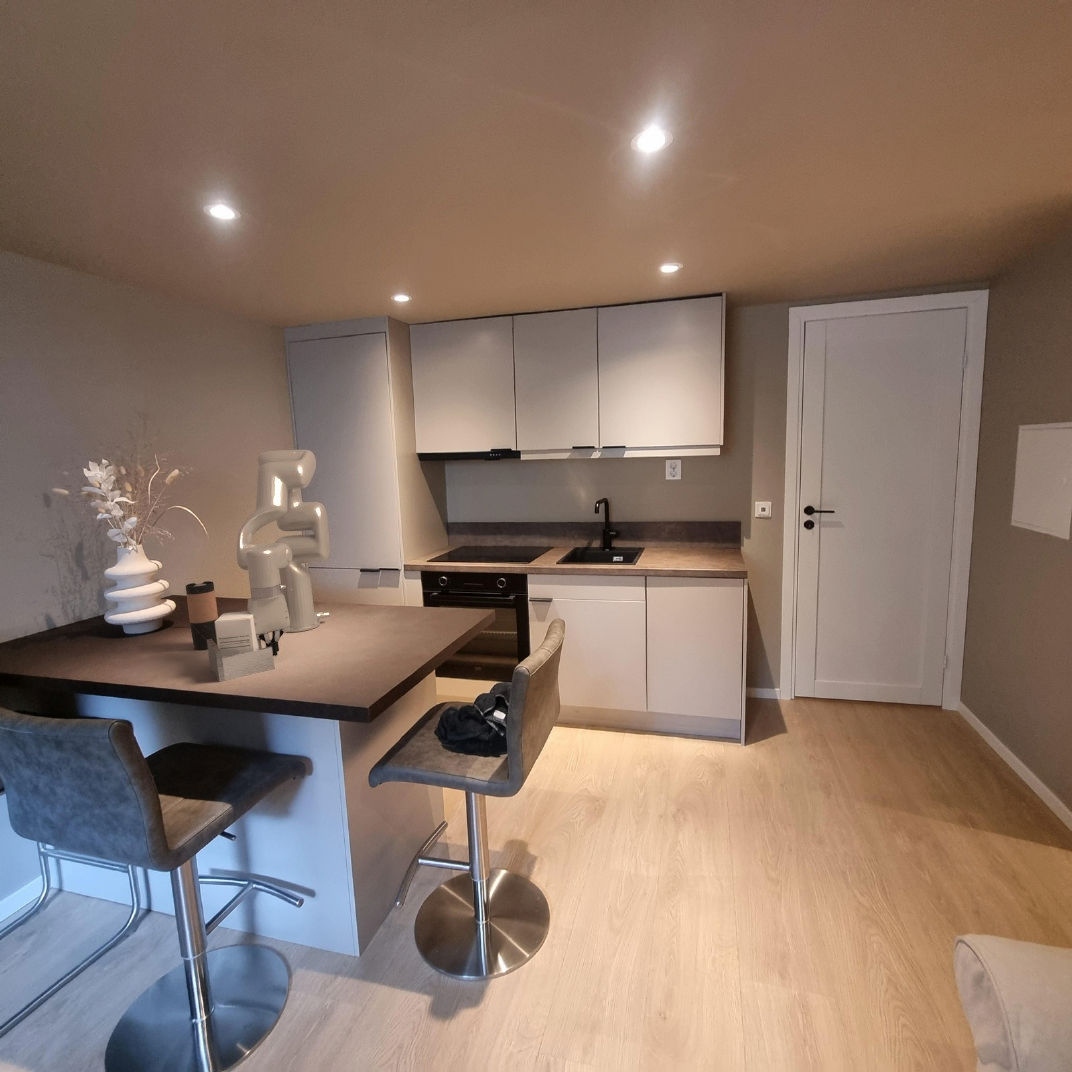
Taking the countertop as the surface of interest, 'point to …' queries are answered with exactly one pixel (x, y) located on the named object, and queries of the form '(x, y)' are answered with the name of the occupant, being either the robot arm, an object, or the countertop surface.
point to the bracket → (239, 662)
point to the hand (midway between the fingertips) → (273, 654)
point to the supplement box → (236, 633)
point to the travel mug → (202, 613)
